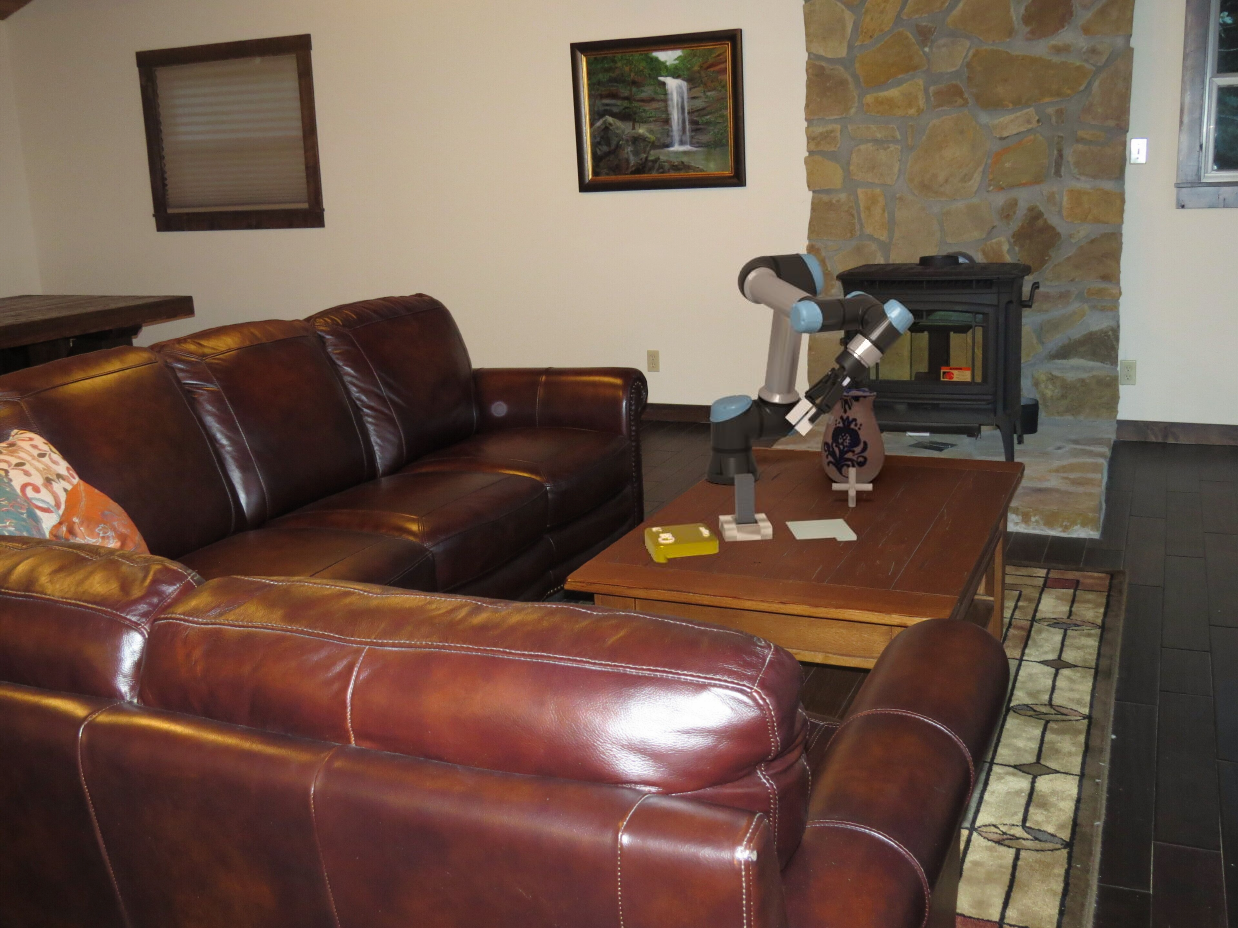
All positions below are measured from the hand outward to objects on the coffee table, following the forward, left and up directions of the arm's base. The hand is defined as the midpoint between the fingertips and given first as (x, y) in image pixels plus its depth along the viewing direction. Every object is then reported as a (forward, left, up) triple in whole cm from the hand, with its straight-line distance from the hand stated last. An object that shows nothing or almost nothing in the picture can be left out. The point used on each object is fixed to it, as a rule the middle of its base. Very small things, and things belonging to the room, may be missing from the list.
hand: (794, 426), depth 263 cm
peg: (0, -12, -25) cm, 28 cm away
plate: (0, +6, -26) cm, 27 cm away
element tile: (+7, -28, -27) cm, 39 cm away
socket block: (0, -12, -26) cm, 29 cm away
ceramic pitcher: (-47, +26, -26) cm, 60 cm away
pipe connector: (-21, +19, -26) cm, 39 cm away
